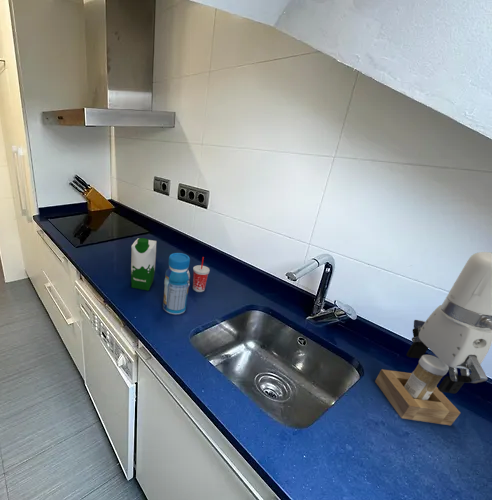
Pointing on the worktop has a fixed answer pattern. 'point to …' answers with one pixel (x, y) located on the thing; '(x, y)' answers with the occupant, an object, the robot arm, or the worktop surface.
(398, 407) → the frame
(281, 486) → the worktop surface
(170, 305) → the beverage bottle
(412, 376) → the sprinkles bottle
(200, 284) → the beverage cup
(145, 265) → the milk carton
